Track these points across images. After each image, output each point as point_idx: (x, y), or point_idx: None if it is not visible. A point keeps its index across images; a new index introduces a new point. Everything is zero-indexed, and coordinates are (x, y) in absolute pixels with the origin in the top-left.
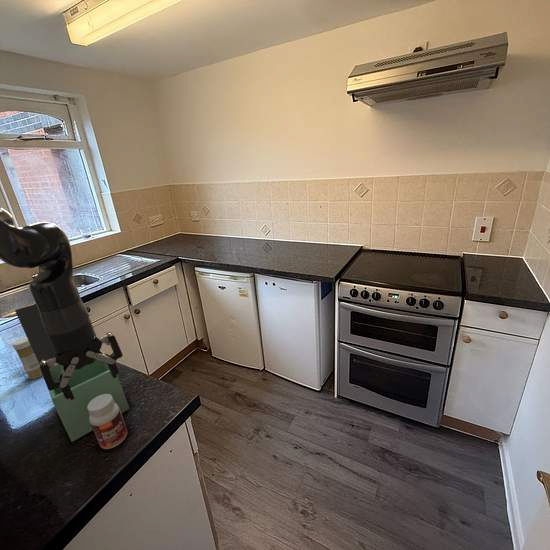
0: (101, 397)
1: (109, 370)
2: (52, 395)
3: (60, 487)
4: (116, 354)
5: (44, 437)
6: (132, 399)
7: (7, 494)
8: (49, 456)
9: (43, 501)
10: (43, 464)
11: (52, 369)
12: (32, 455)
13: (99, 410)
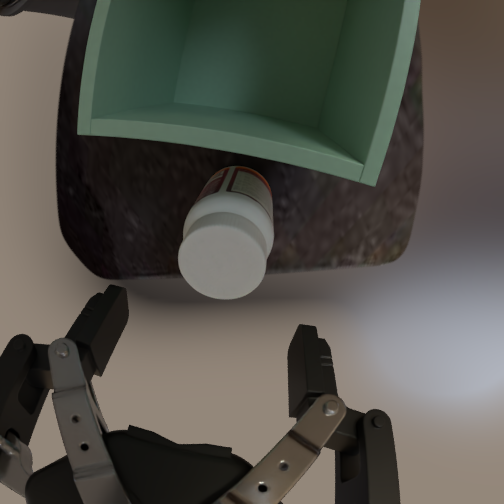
0: (236, 247)
1: (352, 169)
2: (84, 104)
3: (121, 213)
4: (337, 460)
5: None
6: None
7: (58, 145)
8: None
9: (97, 215)
10: None
11: (27, 448)
12: None
13: (204, 293)
